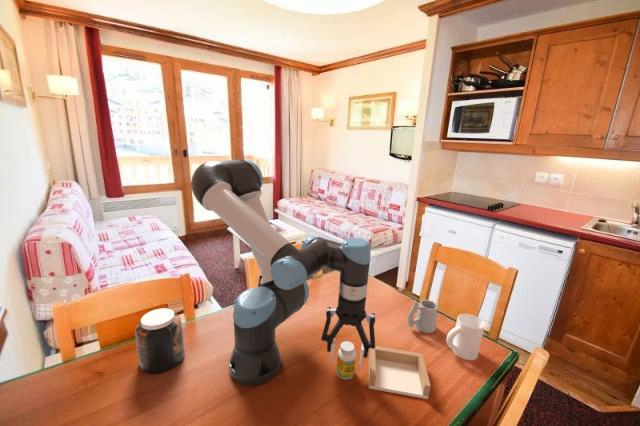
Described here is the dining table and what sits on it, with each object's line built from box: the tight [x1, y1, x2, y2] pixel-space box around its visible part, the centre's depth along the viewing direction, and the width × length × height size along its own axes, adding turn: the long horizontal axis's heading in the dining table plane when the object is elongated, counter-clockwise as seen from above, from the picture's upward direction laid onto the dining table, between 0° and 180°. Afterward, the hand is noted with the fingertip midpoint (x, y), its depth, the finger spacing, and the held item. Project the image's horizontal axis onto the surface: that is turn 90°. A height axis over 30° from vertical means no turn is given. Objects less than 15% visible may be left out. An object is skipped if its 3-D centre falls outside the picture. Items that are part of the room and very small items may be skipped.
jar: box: [134, 307, 185, 375], centre depth 84 cm, size 12×12×15 cm
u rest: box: [368, 345, 431, 400], centre depth 83 cm, size 16×12×4 cm
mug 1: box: [407, 299, 439, 334], centre depth 105 cm, size 8×12×12 cm, turn 105°
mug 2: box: [445, 313, 486, 361], centre depth 93 cm, size 8×12×12 cm
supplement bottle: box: [336, 340, 357, 380], centre depth 83 cm, size 5×5×10 cm
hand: (346, 362), depth 83 cm, fingers open, 8 cm apart
